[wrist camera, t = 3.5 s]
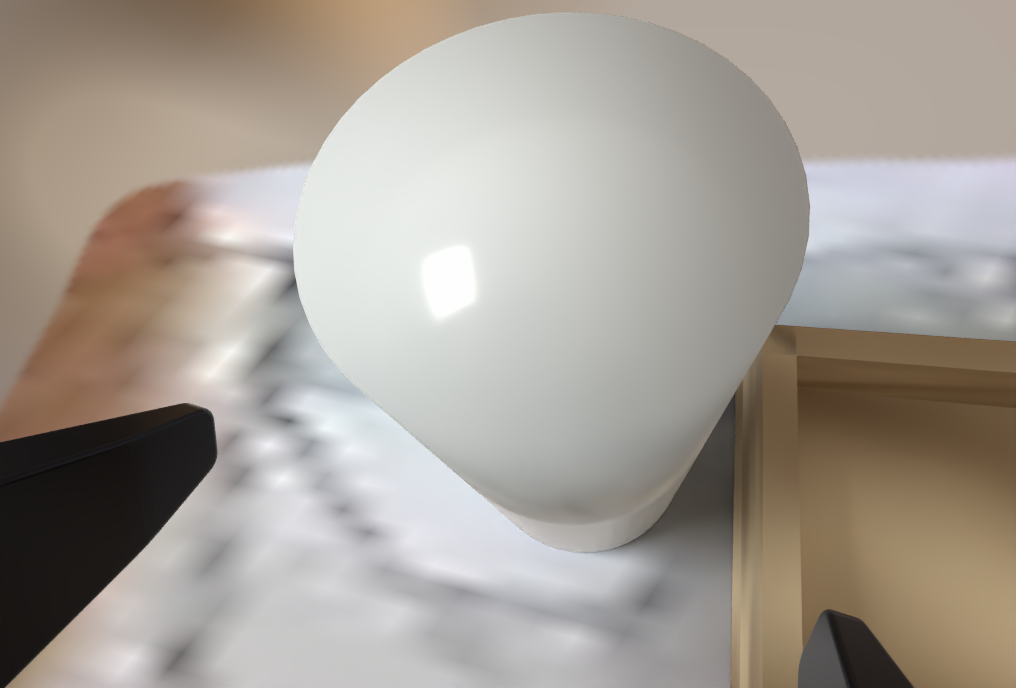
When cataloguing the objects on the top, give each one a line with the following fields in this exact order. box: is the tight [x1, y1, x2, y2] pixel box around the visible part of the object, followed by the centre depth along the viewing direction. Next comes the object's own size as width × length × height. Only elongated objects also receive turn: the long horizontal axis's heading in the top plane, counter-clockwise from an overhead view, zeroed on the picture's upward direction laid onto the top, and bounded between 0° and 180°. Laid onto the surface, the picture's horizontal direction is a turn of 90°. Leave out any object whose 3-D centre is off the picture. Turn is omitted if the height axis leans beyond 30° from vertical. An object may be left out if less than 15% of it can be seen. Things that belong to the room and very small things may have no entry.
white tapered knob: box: [293, 12, 810, 553], centre depth 13 cm, size 6×6×13 cm
